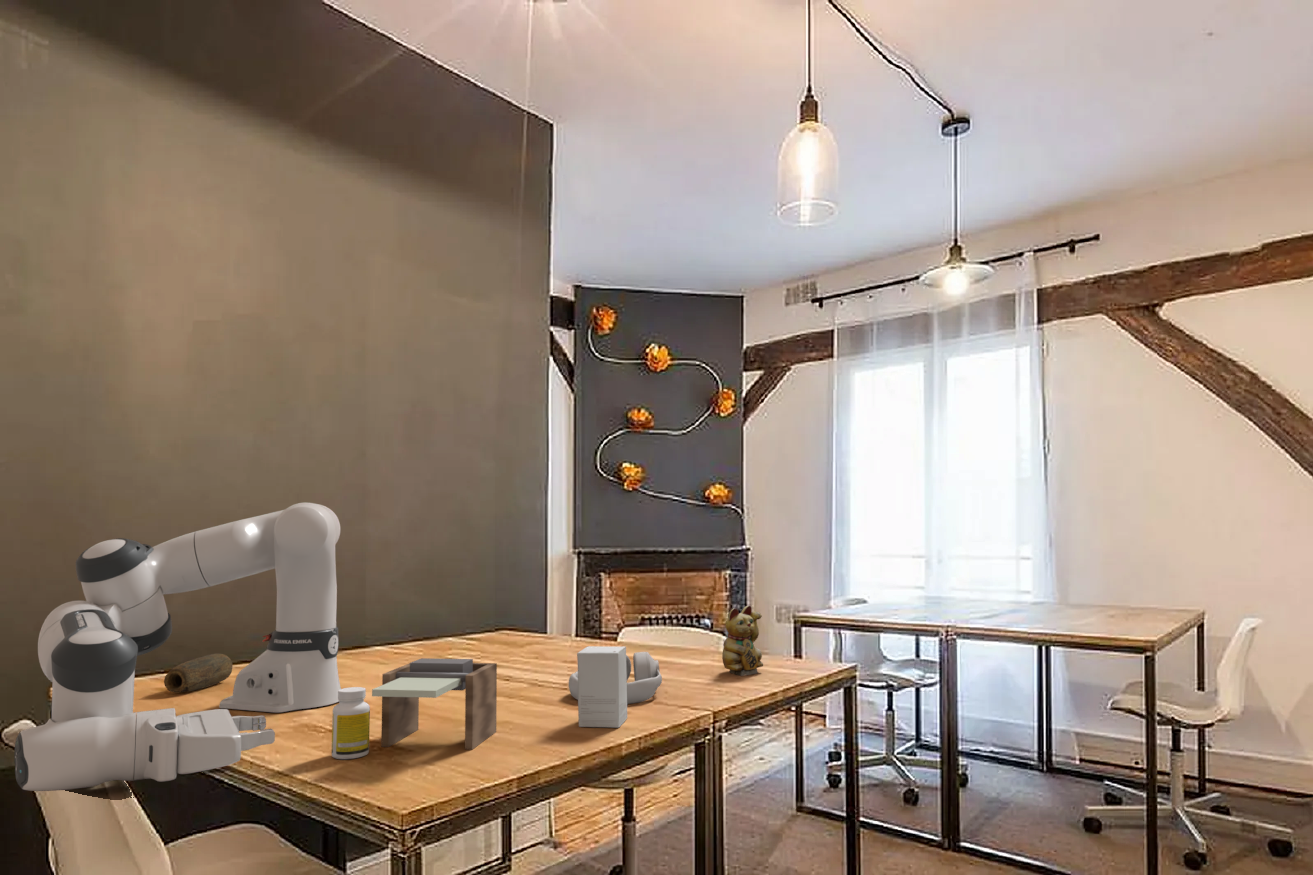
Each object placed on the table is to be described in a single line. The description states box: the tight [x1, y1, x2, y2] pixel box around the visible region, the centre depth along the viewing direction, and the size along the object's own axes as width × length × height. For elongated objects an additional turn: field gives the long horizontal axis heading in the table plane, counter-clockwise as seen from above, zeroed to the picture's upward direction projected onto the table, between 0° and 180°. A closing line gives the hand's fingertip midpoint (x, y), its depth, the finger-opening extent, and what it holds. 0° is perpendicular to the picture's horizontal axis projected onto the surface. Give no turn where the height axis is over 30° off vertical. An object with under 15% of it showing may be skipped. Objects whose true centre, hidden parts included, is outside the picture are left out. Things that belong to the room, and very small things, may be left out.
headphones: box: [568, 651, 663, 705], centre depth 172 cm, size 18×8×20 cm
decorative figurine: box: [721, 605, 764, 676], centre depth 194 cm, size 10×8×15 cm
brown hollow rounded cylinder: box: [163, 653, 233, 693], centre depth 184 cm, size 15×7×7 cm, turn 174°
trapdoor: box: [371, 657, 474, 699], centre depth 134 cm, size 16×12×4 cm
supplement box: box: [576, 645, 628, 729], centre depth 149 cm, size 7×7×13 cm
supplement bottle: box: [331, 686, 371, 760], centre depth 131 cm, size 5×5×10 cm
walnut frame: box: [380, 662, 498, 751], centre depth 140 cm, size 11×15×11 cm
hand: (269, 728), depth 125 cm, fingers open, 8 cm apart
